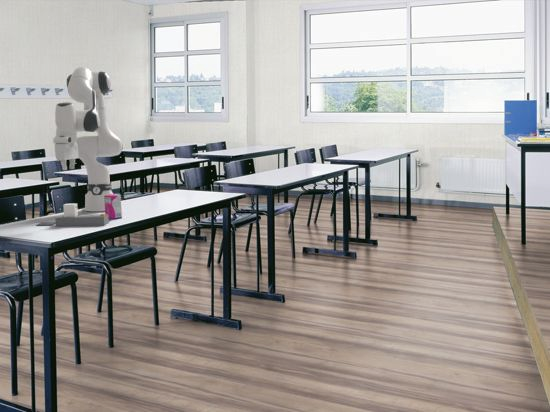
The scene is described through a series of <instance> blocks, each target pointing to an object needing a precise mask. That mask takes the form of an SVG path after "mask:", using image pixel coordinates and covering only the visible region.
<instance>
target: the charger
mask: <svg viewBox="0 0 550 412" xmlns="http://www.w3.org/2000/svg"><path fill="white" fill-rule="evenodd" d="M62 206H63V215H64V217H77V216H78V215H79V212H78V203H65V204H63V205H62Z"/></svg>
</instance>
